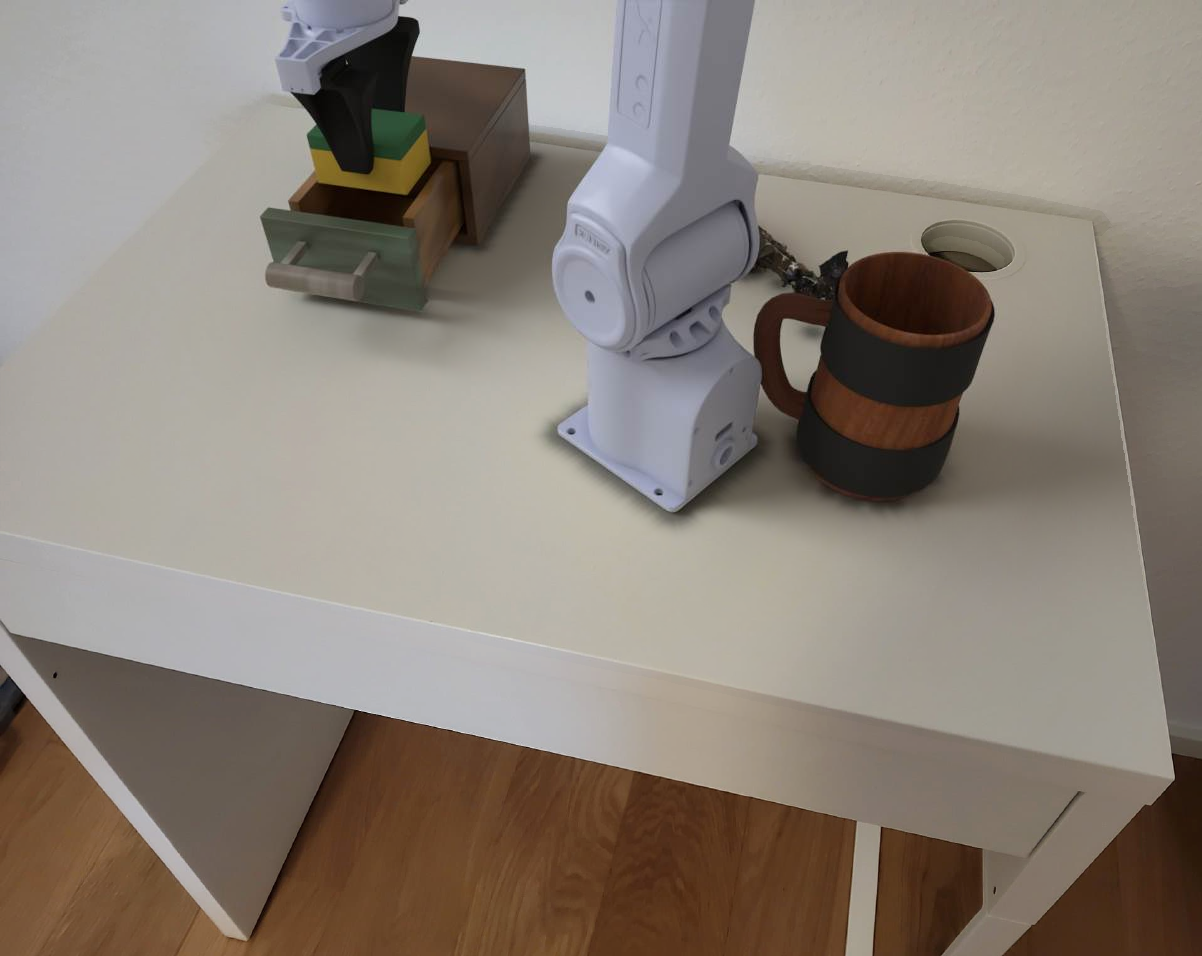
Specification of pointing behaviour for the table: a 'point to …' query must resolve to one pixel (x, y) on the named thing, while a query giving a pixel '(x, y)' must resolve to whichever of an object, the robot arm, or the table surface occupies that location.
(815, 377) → the mug
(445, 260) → the table surface
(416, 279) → the drawer
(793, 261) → the airplane wreck
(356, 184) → the sponge
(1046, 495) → the table surface
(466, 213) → the cabinet
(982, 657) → the table surface
